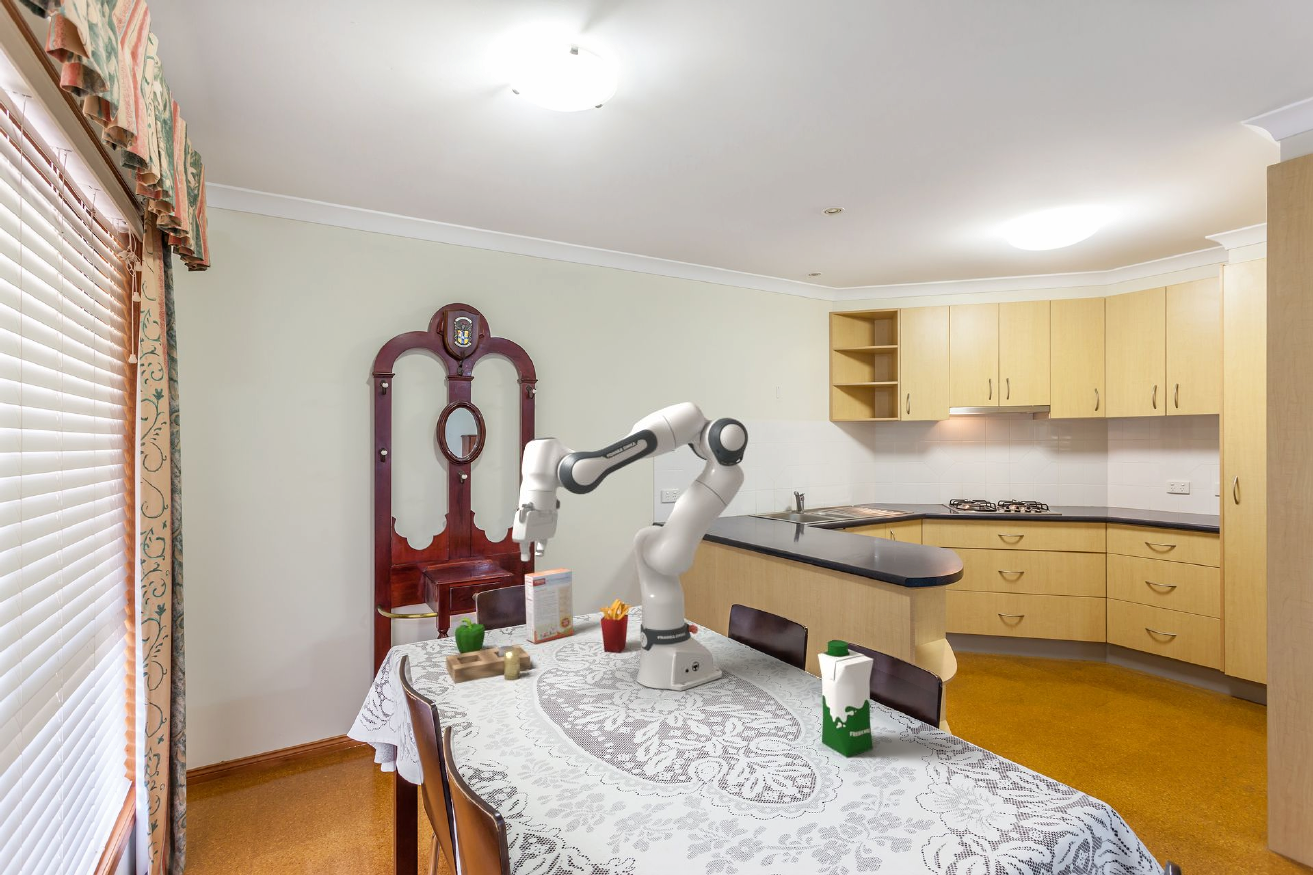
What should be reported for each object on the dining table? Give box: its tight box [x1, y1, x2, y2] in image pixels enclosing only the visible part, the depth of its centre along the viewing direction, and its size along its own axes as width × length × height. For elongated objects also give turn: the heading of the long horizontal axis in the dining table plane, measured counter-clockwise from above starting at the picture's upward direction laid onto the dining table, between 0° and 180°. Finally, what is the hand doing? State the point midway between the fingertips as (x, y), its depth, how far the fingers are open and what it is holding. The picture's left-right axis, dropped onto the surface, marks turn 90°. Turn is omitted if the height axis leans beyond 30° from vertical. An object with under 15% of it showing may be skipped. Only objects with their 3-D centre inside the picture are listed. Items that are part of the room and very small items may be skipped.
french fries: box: [599, 598, 632, 654], centre depth 195 cm, size 9×8×15 cm
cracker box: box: [524, 567, 574, 645], centre depth 208 cm, size 14×6×21 cm, turn 128°
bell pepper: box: [454, 618, 486, 654], centre depth 194 cm, size 8×8×10 cm
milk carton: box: [817, 640, 874, 758], centre depth 132 cm, size 9×9×20 cm
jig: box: [445, 644, 531, 684], centre depth 180 cm, size 20×12×5 cm, turn 118°
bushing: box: [503, 649, 521, 681], centre depth 173 cm, size 4×4×7 cm
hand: (532, 558), depth 162 cm, fingers open, 8 cm apart
